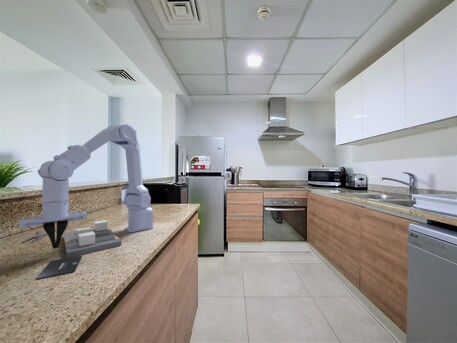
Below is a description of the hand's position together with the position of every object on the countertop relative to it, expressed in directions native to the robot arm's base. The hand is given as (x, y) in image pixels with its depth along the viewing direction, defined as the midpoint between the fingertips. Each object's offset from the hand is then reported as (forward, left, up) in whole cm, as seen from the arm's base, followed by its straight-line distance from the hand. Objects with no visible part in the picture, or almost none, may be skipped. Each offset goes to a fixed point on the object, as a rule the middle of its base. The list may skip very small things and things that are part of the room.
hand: (55, 247), depth 57 cm
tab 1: (-7, -7, -1) cm, 10 cm away
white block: (-7, 0, -1) cm, 7 cm away
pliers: (+2, -28, -3) cm, 29 cm away
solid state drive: (-1, +10, -3) cm, 10 cm away
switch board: (-9, -7, -2) cm, 12 cm away
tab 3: (-14, -15, -1) cm, 20 cm away
